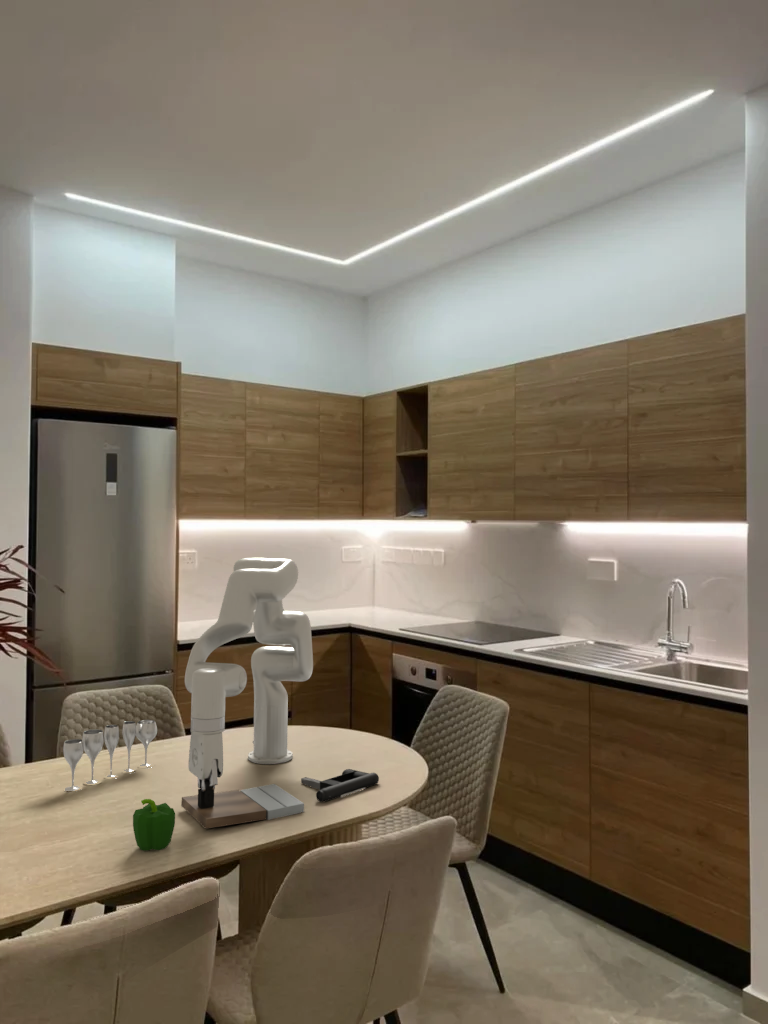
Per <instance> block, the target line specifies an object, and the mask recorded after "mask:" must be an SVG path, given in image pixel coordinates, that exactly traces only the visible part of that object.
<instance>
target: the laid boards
mask: <svg viewBox="0 0 768 1024" xmlns="http://www.w3.org/2000/svg"><path fill="white" fill-rule="evenodd" d="M240 791H241V792H242V793H244V794H245V795H246V796H248V797H249V798H250V799H252V800H253V801H254V802H256V803H257V804H258V805H260V806H261V807H263V808H264V809H265V810H266V819H265V820H267V821H268V820H269V821H270V820H274V819H279V818H283V817H286V816H288V817H289V816H292V815H297V814H301V812H302V813H304V812H305V803H304V802H302V801H301V800H300V799H298V798H296V797H295V796H294V795H292V794H291V793H289V792H288V791H286V790H285V789H283V788H282V787H280V786H278V785H277V784H276V783H272V784H266V785H260V786H255V787H250V788H244V789H240ZM278 817H279V818H278ZM273 818H274V819H273Z"/></svg>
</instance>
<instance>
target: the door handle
mask: <svg viewBox="0 0 768 1024" xmlns="http://www.w3.org/2000/svg"><path fill="white" fill-rule="evenodd" d="M379 780H380V777H379V774H378V773H376V772H370V773H369V772H365V771H360V770H357V769H356V770H355V769H350V768H347V769H344V770H343V771H342V773H341V774H340V775H337V776H334V777H331V778H328V779H324V780H319V779H316V778H311V777H307V776H305V777H302V778H300V782H301V783H303V784H302V785H304V784H305V786H307V785H308V786H307V787H310V786H311V787H310V788H313V789H315V788H316V789H315V790H317V791H316V794H315V797H316V799H317V801H318V802H319V803H321V802H323V801H325V802H328V801H331V800H333V799H337V798H344V797H347V796H349V794H350V795H352V794H351V793H353V794H355V793H354V792H356V793H358V792H357V791H359V792H361V791H360V790H362V789H365V790H366V788H369V787H372V786H375V785H377V784H378V782H379ZM374 784H375V785H374ZM318 789H319V790H318ZM362 791H363V790H362ZM346 795H347V796H346ZM343 796H344V797H343Z"/></svg>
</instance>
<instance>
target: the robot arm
mask: <svg viewBox="0 0 768 1024" xmlns="http://www.w3.org/2000/svg"><path fill="white" fill-rule="evenodd" d="M298 579H299V569H298V566H297V563H296V562H295V561H294V560H293V559H290V558H273V557H271V558H270V557H269V558H267V557H244V558H240V559H238V560H236V561H235V562H234V565H233V572H231V573H230V575H229V577H228V579H227V583H226V588H225V592H224V594H223V595H224V596H223V599H222V603H221V607H220V611H219V615H218V619H217V621H216V622H215V623H213V625H211V626H210V627H208V628H207V629H206V631H204V632H203V633H202V635H201V636H199V638H197V640H196V642H194V644H193V645H192V648H191V651H190V654H189V657H188V660H187V665H186V668H185V671H184V672H185V675H184V686H185V689H186V690H187V691H188V693H190V694H191V704H190V706H191V707H190V739H189V740H190V741H189V749H188V750H189V752H188V753H189V754H188V771H189V772H190V773H191V774H192V775H194V776H195V777H196V778H197V788H198V790H197V795H198V807H199V808H200V809H205V808H210V807H213V806H214V793H215V789H216V786H218V783H219V782H218V778H221V777H222V776H223V772H224V741H223V733H224V732H225V731H226V729H225V728H226V698H229V697H236V696H238V695H239V694H241V693H242V692H243V691H244V689H245V688H246V686H247V682H248V674H247V672H246V669H245V668H244V667H243V666H242V665H240V664H237V663H227V662H226V663H225V662H206V661H207V659H208V657H209V656H210V655H211V653H213V652H214V650H216V649H217V648H219V647H221V646H223V645H224V644H227V643H229V642H231V641H234V640H236V639H239V638H241V637H244V636H246V635H248V634H249V633H250V632H251V630H252V629H253V633H254V637H255V640H256V642H259V643H260V644H262V645H266V646H261V647H257V648H256V649H255V650H254V651H253V653H252V654H251V657H250V658H251V659H250V666H251V674H252V679H253V701H254V702H253V740H252V744H253V750H252V751H250V752H248V754H247V760H248V761H250V762H252V763H254V764H261V765H278V764H283V763H287V762H289V761H290V760H292V759H293V757H294V756H293V755H294V753H293V751H291V750H289V749H288V724H289V723H288V722H289V721H288V719H289V718H288V716H289V707H288V705H289V704H288V702H289V698H288V697H289V696H288V692H287V690H286V687H285V686H284V685H283V683H282V682H306V681H308V680H309V679H310V678H311V677H312V674H313V672H314V671H313V670H314V655H313V640H312V639H313V638H312V628H311V627H312V626H311V625H312V624H311V621H310V618H309V616H308V614H306V613H305V612H303V611H297V610H284V607H283V606H284V605H283V604H284V603H283V600H284V599H285V598H286V597H287V595H288V594H289V593H291V592H292V590H293V589H294V588H295V587H296V585H297V582H298Z"/></svg>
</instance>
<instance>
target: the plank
mask: <svg viewBox="0 0 768 1024" xmlns="http://www.w3.org/2000/svg"><path fill="white" fill-rule="evenodd" d="M240 790H241V789H240ZM240 790H239V789H234V790H225V791H217V792H214V806H213V807H210V808H205V809H200V808H199V807H198V794H196V795H194V794H193V795H186V796H182V797H181V805H180V806H181V808H183V809H184V810H185V811H186V812H187V813H189V815H191V816H192V818H194V819H195V820H196V822H198V823H199V824H200V825H201V826H202V827H203V828H204V829H211V828H220V827H225V826H232V825H237V824H245V823H251V822H257V821H264V820H267V819H266V810H265V809H264V808H263V807H261V806H260V805H258V804H257V803H256V802H254V801H253V800H252V799H250V798H249V797H248V796H246V795H245V794H244V793H242V792H241V791H240Z"/></svg>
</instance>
